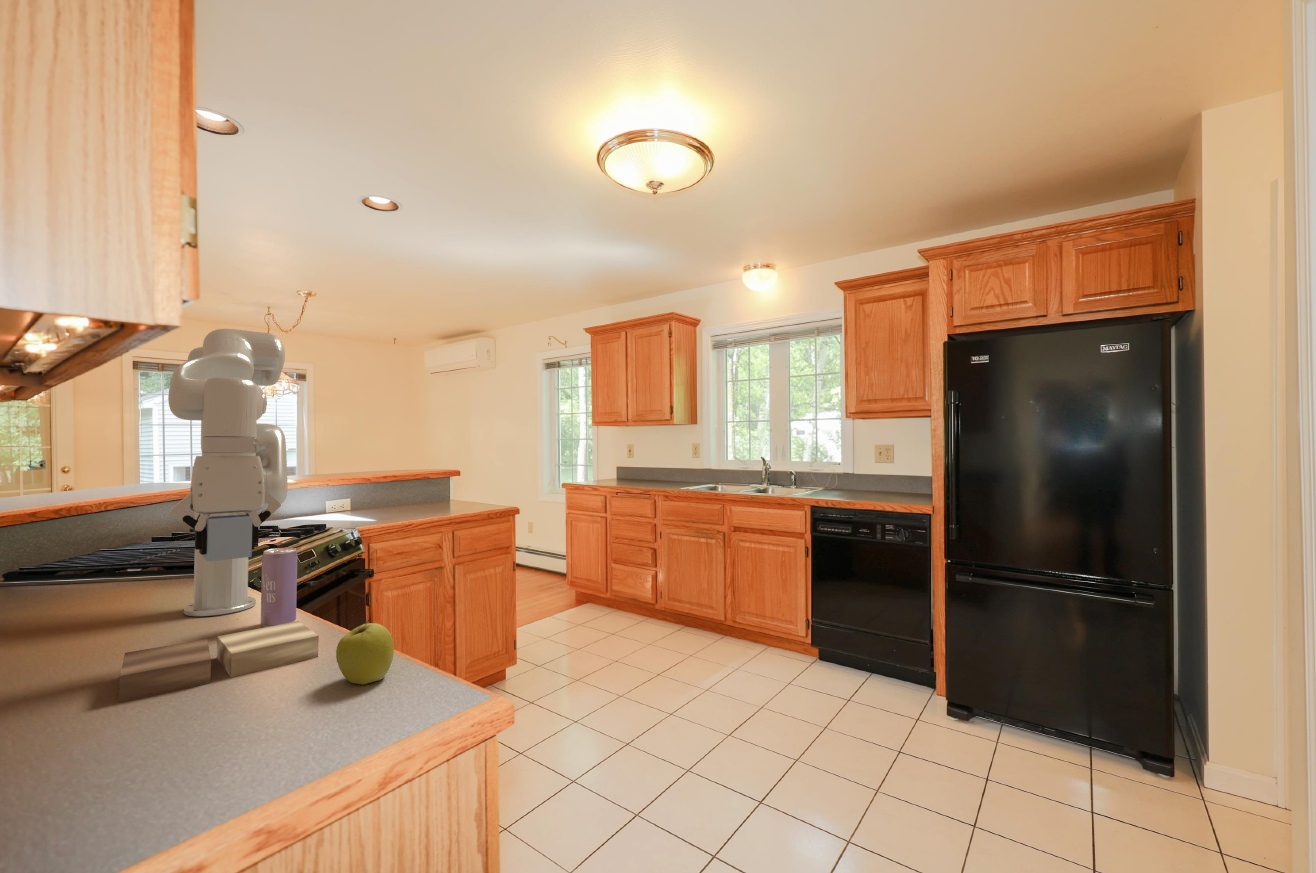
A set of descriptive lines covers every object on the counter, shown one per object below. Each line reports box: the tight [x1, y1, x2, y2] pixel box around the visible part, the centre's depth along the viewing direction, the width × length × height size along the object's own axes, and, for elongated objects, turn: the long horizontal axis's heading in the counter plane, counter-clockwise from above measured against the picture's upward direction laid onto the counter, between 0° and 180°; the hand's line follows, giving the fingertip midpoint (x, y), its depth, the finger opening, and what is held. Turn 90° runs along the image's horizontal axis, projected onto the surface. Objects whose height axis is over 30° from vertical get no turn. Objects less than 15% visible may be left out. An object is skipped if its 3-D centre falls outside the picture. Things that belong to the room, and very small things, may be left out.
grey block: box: [203, 513, 253, 561], centre depth 98 cm, size 6×6×7 cm
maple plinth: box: [216, 620, 320, 678], centre depth 96 cm, size 12×12×4 cm
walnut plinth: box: [118, 638, 212, 703], centre depth 86 cm, size 12×10×4 cm
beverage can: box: [260, 547, 298, 628], centre depth 114 cm, size 6×6×15 cm
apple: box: [335, 617, 395, 685], centre depth 86 cm, size 8×8×10 cm
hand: (227, 550), depth 98 cm, fingers closed on grey block, 6 cm apart
